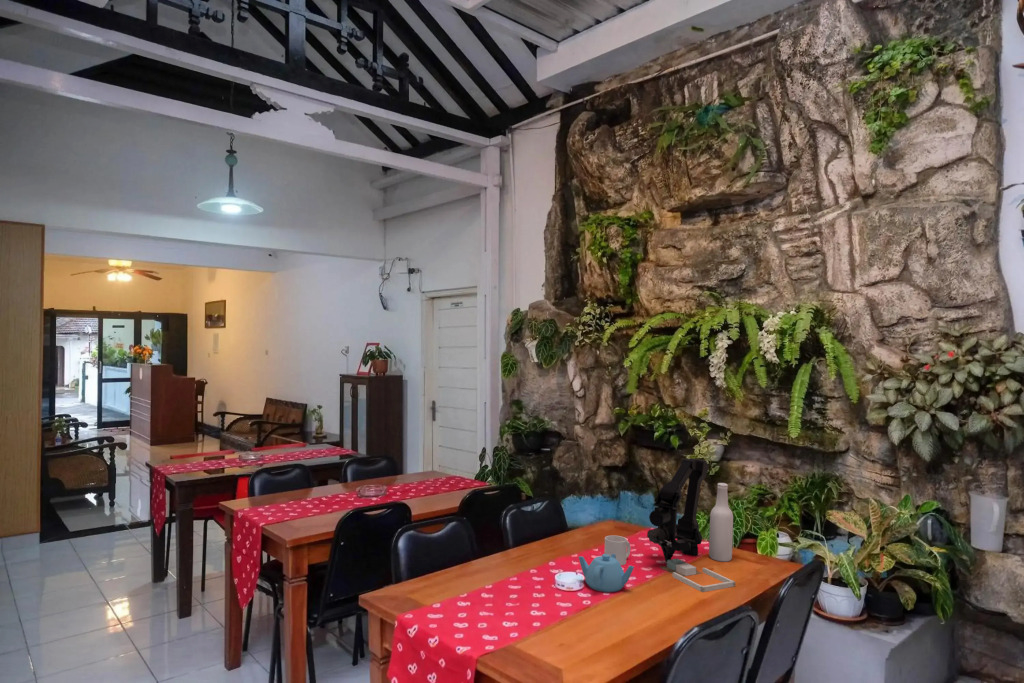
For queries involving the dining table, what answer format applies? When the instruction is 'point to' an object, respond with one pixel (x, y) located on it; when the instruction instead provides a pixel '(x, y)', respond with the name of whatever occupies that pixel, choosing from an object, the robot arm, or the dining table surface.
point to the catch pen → (726, 584)
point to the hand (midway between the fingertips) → (667, 562)
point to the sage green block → (674, 563)
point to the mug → (617, 547)
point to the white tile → (685, 569)
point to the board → (675, 571)
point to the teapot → (605, 573)
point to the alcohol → (721, 527)
